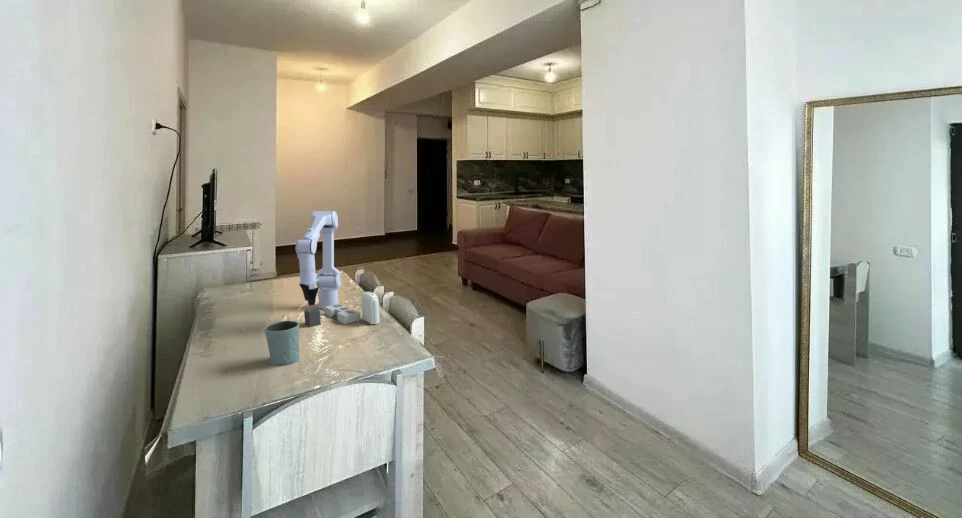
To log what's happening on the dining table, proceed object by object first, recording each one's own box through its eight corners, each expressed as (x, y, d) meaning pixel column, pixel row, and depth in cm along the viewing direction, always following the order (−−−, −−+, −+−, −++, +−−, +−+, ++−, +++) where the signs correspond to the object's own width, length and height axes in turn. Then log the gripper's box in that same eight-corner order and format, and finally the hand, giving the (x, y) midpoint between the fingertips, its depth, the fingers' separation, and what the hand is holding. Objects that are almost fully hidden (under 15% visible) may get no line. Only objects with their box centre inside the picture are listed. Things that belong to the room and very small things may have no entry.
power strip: (324, 314, 190) (324, 305, 190) (339, 311, 195) (339, 302, 195) (345, 324, 178) (344, 314, 177) (360, 320, 183) (360, 311, 182)
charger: (305, 324, 178) (304, 309, 177) (322, 320, 183) (321, 306, 182) (310, 327, 175) (309, 312, 173) (327, 322, 180) (326, 308, 178)
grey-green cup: (306, 354, 148) (303, 320, 146) (294, 367, 138) (291, 330, 136) (275, 354, 148) (272, 320, 145) (262, 367, 138) (258, 331, 135)
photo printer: (360, 319, 184) (359, 290, 182) (370, 317, 187) (369, 289, 185) (371, 325, 176) (370, 296, 174) (381, 323, 179) (380, 294, 177)
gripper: (322, 271, 169) (324, 305, 171) (314, 265, 181) (316, 297, 184) (302, 273, 165) (305, 308, 168) (296, 267, 178) (298, 299, 180)
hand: (310, 302), depth 176 cm, fingers open, 7 cm apart
